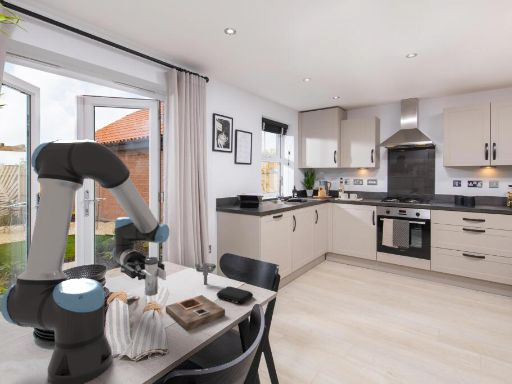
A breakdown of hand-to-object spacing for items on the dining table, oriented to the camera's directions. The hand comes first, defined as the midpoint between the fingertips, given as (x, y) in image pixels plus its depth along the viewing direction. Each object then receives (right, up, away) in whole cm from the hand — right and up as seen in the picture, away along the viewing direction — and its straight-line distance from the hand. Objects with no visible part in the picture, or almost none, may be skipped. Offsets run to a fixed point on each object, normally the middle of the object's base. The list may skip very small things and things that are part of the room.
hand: (157, 277), depth 93 cm
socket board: (+9, -19, +17) cm, 27 cm away
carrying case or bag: (+22, -19, +32) cm, 43 cm away
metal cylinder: (-4, -7, +4) cm, 9 cm away
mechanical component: (+7, -17, +47) cm, 51 cm away
